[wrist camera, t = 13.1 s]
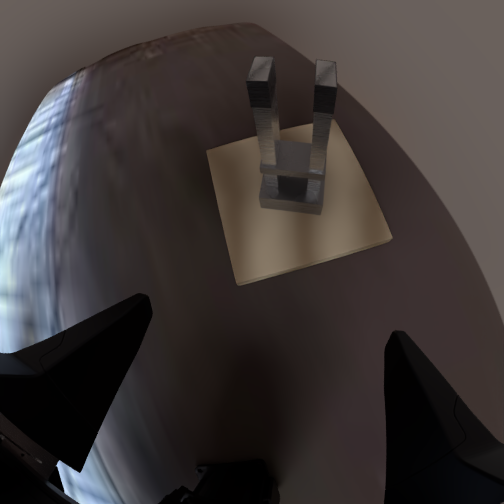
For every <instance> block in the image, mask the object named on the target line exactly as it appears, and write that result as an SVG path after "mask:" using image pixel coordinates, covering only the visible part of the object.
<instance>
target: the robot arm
mask: <svg viewBox="0 0 504 504" xmlns="http://www.w3.org/2000/svg"><path fill="white" fill-rule="evenodd" d="M152 314H153V311H152V307H151V303H150V299H149V297H148V295H145V294H141V293H138V294H135V295H133V296H131V297H129V298H127V299H125V300H123V301H121V302H119V303H117V304H115V305H113V306H111V307H109V308H107V309H105V310H103V311H101V312H99V313H97V314H95V315H93V316H91V317H90V318H88V319H86V320H84V321H82V322H80V323H78V324H76V325H74V326H72V327H70V328H68V329H66V330H64V331H62V332H60V333H58V334H56V335H54V336H52V337H50V338H48V339H45V340H43V341H41V342H39V343H36V344H34V345H31V346H29V347H27V348H24V349H22V350H19V351H17V352H14V353H0V504H79V503H78V502H76V501H75V500H73V499H72V498H70V497H69V496H68V495H66V494H65V493H64V492H65V491H64V488H63V485H62V482H61V478H60V475H59V471H58V468H57V466H56V465H57V463H58V461H59V460H60V461H62V462H63V463H65V464H66V465H68V466H69V467H71V468H73V469H74V470H76V471H77V472H79V473H80V472H81V471H82V469H83V466H84V464H85V461H86V459H87V457H88V454H89V452H90V450H91V447H92V445H93V443H94V441H95V438H96V436H97V434H98V431H99V429H100V427H101V425H102V423H103V421H104V418H105V416H106V414H107V412H108V410H109V408H110V406H111V404H112V402H113V399H114V397H115V395H116V393H117V391H118V389H119V387H120V385H121V383H122V381H123V379H124V377H125V375H126V373H127V371H128V369H129V367H130V365H131V364H132V362H133V360H134V358H135V356H136V354H137V352H138V350H139V348H140V345H141V343H142V341H143V338H144V336H145V333H146V331H147V328H148V326H149V323H150V321H151V318H152ZM384 396H385V412H386V485H385V489H386V490H385V498H384V504H504V444H503V443H501V442H499V441H498V440H497V439H496V438H495V437H494V436H493V435H492V434H491V432H490V431H489V430H488V429H487V428H486V427H485V426H484V425H483V424H482V423H481V421H480V420H479V419H478V418H477V417H476V416H475V415H474V414H473V413H472V411H471V410H470V409H469V408H468V407H467V405H466V404H465V403H464V402H463V400H462V399H461V398H460V396H459V395H457V393H456V392H455V390H454V389H453V388H452V387H451V385H450V384H449V383H448V382H447V380H446V379H445V378H444V377H443V375H442V374H441V373H440V372H439V371H438V369H437V368H436V367H435V366H434V365H433V363H432V362H431V361H430V360H429V359H428V358H427V356H426V355H425V354H424V353H423V352H422V351H421V349H420V348H419V347H418V346H417V345H416V344H415V343H414V341H413V340H412V339H411V338H410V337H409V336H408V335H407V334H406V332H404V331H398V330H395V331H393V332H392V334H391V336H390V338H389V340H388V342H387V344H386V346H385V351H384ZM257 463H260V464H262V465H261V466H259V465H257ZM199 469H202V470H203V471H200V470H199ZM195 472H196V474H197V477H198V479H199V484H198V485H197V487H196V488H195V490H194V491H193V492H192V491H190V490H188V488H186V487H184V486H181V487H180V488H179V489H178V490H177V489H175V490H174V491H173V492H172V493H171V494H170V495H166V496H165V497H164V498H163V499H162V501H161V502H160V503H159V504H279V500H280V494H279V491H278V488H277V485H276V482H275V479H274V478H273V477H272V476H269V473H268V470H267V467H266V464H265V462H264V461H263V460H261V459H256V460H249V461H242V462H233V463H222V464H209V465H198V466H197V467H196V468H195Z"/></svg>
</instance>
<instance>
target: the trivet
mask: <svg viewBox="0 0 504 504" xmlns="http://www.w3.org/2000/svg"><path fill="white" fill-rule="evenodd" d="M279 131H280V140H284V141H295V142H304V143H312V132H313V123H312V124H307V125H302V126H297V127H292V128H288V129H283V130H279ZM206 152H207V157H208V161H209V166H210V171H211V175H212V180H213V184H214V189H215V194H216V198H217V203H218V207H219V211H220V216H221V220H222V225H223V229H224V233H225V238H226V242H227V246H228V251H229V255H230V259H231V263H232V267H233V272H234V276H235V280H236V284H237V285H238V286H240V285H244V284H248V283H252V282H255V281H259V280H263V279H266V278H270V277H273V276H277V275H280V274H284V273H288V272H291V271H295V270H298V269H302V268H305V267H308V266H312V265H315V264H319V263H322V262H325V261H329V260H332V259H336V258H339V257H342V256H345V255H349V254H352V253H355V252H359V251H362V250H365V249H368V248H371V247H375V246H378V245H381V244H384V243H387V242H389V241H390V240H391V239H392V235H391V233H390V230H389V228H388V225H387V223H386V220H385V218H384V216H383V213H382V211H381V209H380V206H379V204H378V202H377V200H376V197H375V195H374V193H373V191H372V189H371V187H370V185H369V182H368V180H367V178H366V176H365V174H364V172H363V170H362V168H361V166H360V164H359V162H358V160H357V159H356V157H355V155H354V153H353V151H352V149H351V147H350V146H349V144H348V142H347V140H346V138H345V137H344V135H343V133H342V131H341V130H340V128H339V126H338V124H337V123H336V121H335V119H334V120H332V121H331V127H330V134H329V140H328V146H327V156H326V174H325V186H324V200H323V208H322V211H321V215H314V214H306V213H299V212H291V211H283V210H275V209H266V208H261V206H260V201H259V193H260V188H261V183H262V177H263V174H261V173H260V163H261V154H260V148H259V142H258V136H255V137H251V138H247V139H244V140H240V141H236V142H233V143H229V144H226V145H223V146H219V147H216V148H213V149H210V150H207V151H206Z"/></svg>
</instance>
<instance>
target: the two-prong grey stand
mask: <svg viewBox="0 0 504 504" xmlns="http://www.w3.org/2000/svg"><path fill="white" fill-rule="evenodd" d="M246 84H247V89H248V94H249V99H250V104H251V107H252V109H253V114H254V120H255V125H256V131H257V136H258V142H259V148H260V154H261V163H260V173H261V174H263V177H262V183H261V188H260V193H259V201H260V206H261V208H266V209H275V210H283V211H291V212H299V213H306V214H314V215H321V211H322V208H323V200H324V186H325V174H326V156H327V146H328V140H329V134H330V127H331V121H332V114H334V107H335V100H336V93H337V73H336V62H333V61H325V60H316V70H315V90H314V107H313V112H314V119H313V132H312V143H304V142H295V141H284V140H280V131H279V118H278V105H277V93H276V72H275V61H274V57H268V56H254V59H253V62H252V65H251V68H250V70H249V73H248V76H247V79H246Z"/></svg>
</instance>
